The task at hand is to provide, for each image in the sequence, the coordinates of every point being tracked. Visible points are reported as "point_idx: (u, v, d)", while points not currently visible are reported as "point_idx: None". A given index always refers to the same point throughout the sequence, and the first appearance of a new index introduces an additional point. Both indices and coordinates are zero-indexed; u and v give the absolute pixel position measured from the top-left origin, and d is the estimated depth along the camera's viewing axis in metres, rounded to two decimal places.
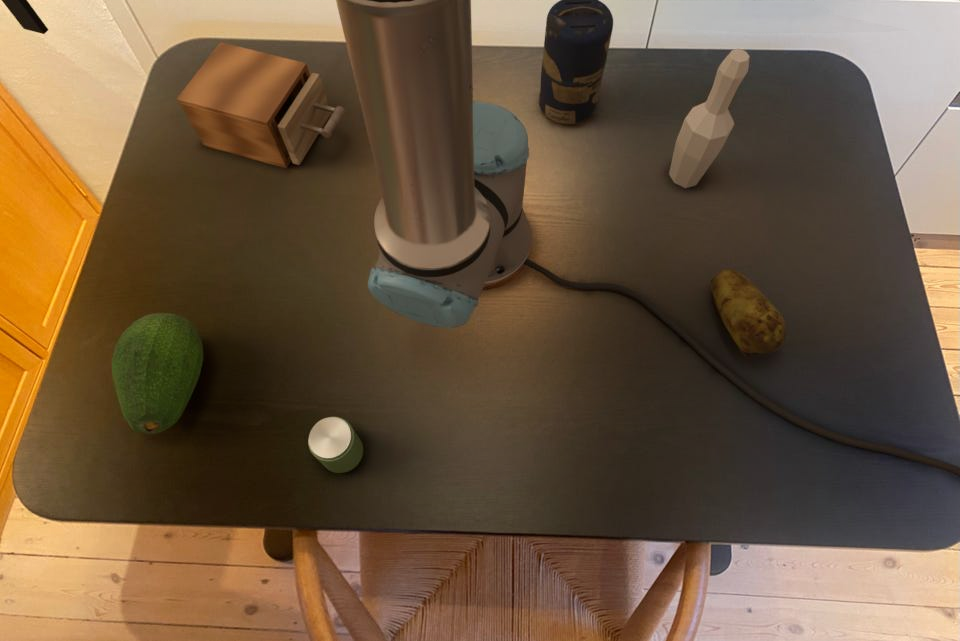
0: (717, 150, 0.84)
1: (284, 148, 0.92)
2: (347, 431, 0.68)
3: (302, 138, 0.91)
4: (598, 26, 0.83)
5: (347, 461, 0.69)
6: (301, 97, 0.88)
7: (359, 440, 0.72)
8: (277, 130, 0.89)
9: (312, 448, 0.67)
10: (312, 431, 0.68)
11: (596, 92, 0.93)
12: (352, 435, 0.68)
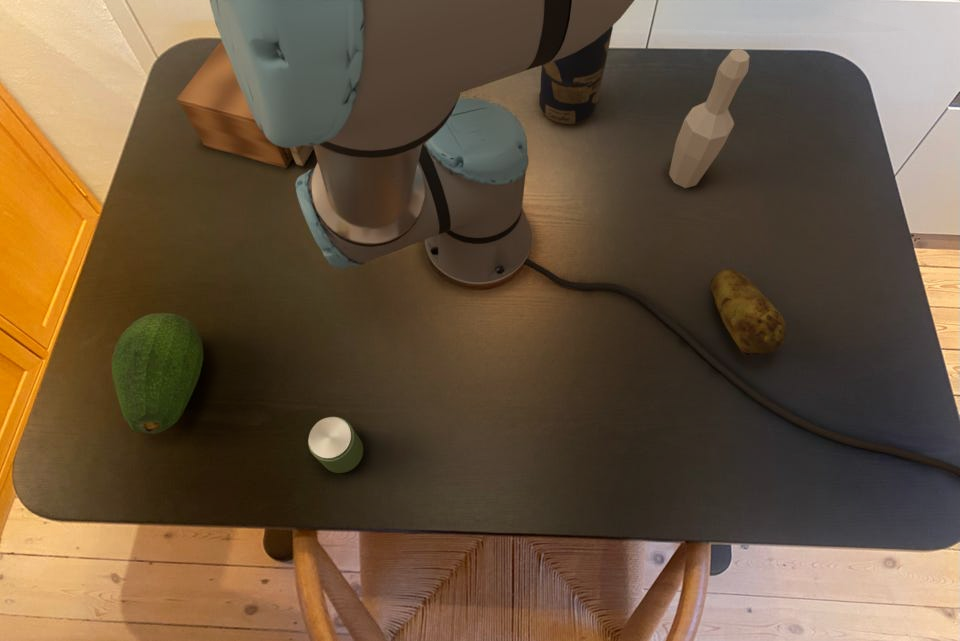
0: (717, 150, 0.84)
1: (287, 149, 0.92)
2: (347, 431, 0.68)
3: None
4: None
5: (347, 461, 0.69)
6: None
7: (359, 440, 0.72)
8: None
9: (312, 448, 0.67)
10: (312, 431, 0.68)
11: (596, 92, 0.93)
12: (352, 435, 0.68)
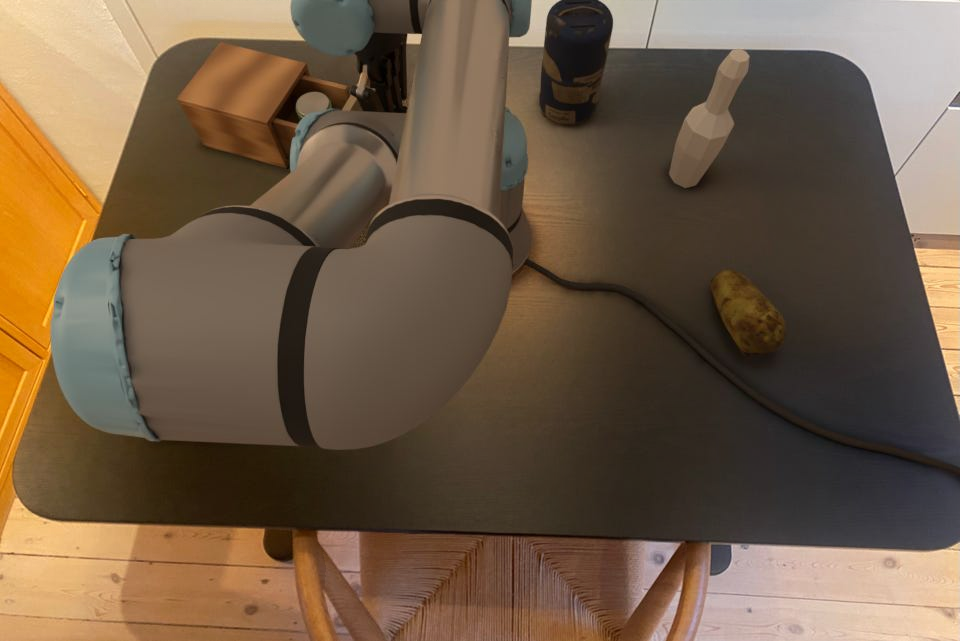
0: (717, 150, 0.84)
1: None
2: (325, 99, 0.88)
3: None
4: (598, 25, 0.83)
5: None
6: (347, 109, 0.87)
7: None
8: None
9: (299, 110, 0.88)
10: (298, 100, 0.88)
11: (596, 92, 0.93)
12: (329, 103, 0.89)
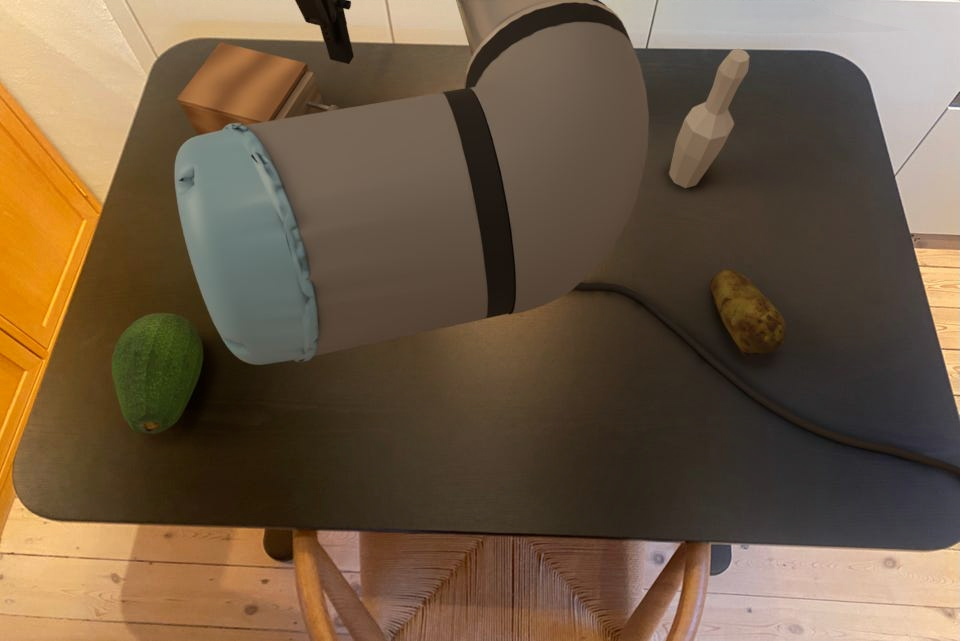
0: (717, 150, 0.84)
1: None
2: None
3: None
4: None
5: None
6: (295, 95, 0.89)
7: None
8: None
9: None
10: None
11: None
12: None
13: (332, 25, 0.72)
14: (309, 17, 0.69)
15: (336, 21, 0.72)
